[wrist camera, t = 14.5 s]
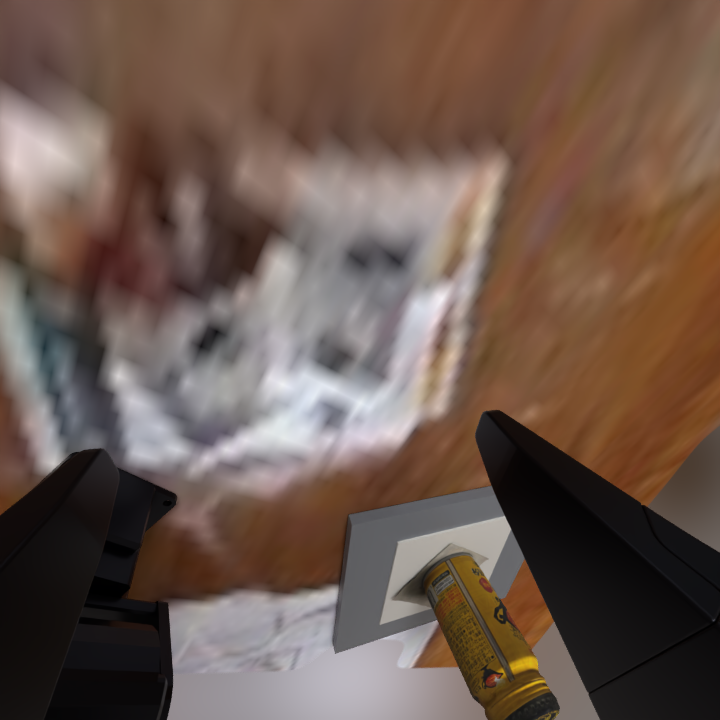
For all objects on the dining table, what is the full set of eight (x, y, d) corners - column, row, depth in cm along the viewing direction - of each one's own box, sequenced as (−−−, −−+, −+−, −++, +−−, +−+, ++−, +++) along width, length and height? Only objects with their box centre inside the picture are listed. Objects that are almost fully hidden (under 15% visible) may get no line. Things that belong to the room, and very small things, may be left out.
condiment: (488, 556, 37) (584, 702, 26) (432, 606, 38) (503, 763, 28) (450, 540, 33) (545, 703, 23) (390, 596, 34) (454, 774, 24)
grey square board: (332, 642, 37) (335, 655, 36) (348, 514, 28) (352, 527, 27) (500, 589, 44) (506, 599, 43) (555, 472, 35) (564, 481, 34)
